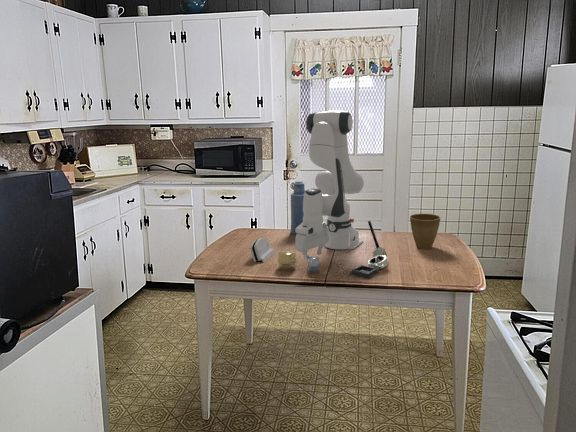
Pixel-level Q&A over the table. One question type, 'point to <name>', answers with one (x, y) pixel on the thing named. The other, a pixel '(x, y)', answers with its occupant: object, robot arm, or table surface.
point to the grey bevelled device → (261, 250)
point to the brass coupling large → (287, 260)
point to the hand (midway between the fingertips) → (312, 256)
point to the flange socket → (364, 271)
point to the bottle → (297, 205)
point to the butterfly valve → (377, 253)
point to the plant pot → (424, 229)
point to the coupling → (313, 264)
